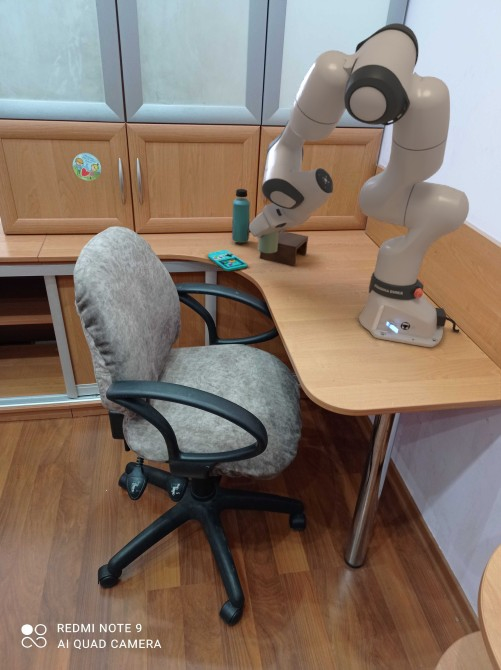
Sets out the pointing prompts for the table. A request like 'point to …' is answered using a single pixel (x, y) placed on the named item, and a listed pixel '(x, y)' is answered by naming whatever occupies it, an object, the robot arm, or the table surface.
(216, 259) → the handheld gaming console
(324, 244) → the table surface
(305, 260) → the table surface
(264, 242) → the tumbler
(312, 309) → the table surface
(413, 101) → the robot arm
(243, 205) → the beverage bottle
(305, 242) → the stand
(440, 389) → the table surface
